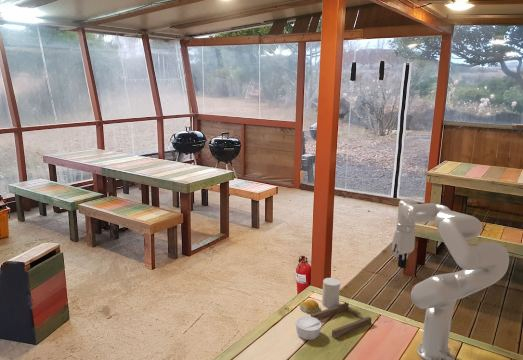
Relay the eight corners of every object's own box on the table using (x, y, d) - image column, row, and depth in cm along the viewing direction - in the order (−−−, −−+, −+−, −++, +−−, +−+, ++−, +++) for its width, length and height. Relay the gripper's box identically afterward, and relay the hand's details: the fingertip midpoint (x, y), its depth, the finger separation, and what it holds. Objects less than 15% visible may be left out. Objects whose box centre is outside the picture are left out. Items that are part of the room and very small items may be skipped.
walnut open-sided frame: (370, 323, 192) (371, 317, 191) (334, 338, 180) (334, 331, 180) (346, 308, 205) (346, 302, 204) (310, 320, 193) (310, 314, 193)
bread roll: (321, 309, 204) (322, 301, 203) (308, 315, 199) (308, 307, 198) (310, 302, 210) (310, 295, 209) (296, 307, 205) (296, 300, 204)
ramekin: (317, 344, 176) (318, 332, 175) (291, 338, 180) (292, 326, 179) (323, 330, 186) (324, 319, 185) (299, 324, 190) (299, 314, 189)
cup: (318, 301, 211) (319, 279, 208) (332, 298, 214) (333, 276, 211) (327, 309, 203) (329, 286, 201) (341, 306, 207) (343, 283, 204)
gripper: (409, 222, 191) (406, 260, 195) (387, 227, 183) (383, 267, 187) (424, 227, 185) (419, 266, 189) (401, 233, 177) (397, 274, 181)
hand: (401, 267), depth 188 cm, fingers closed
